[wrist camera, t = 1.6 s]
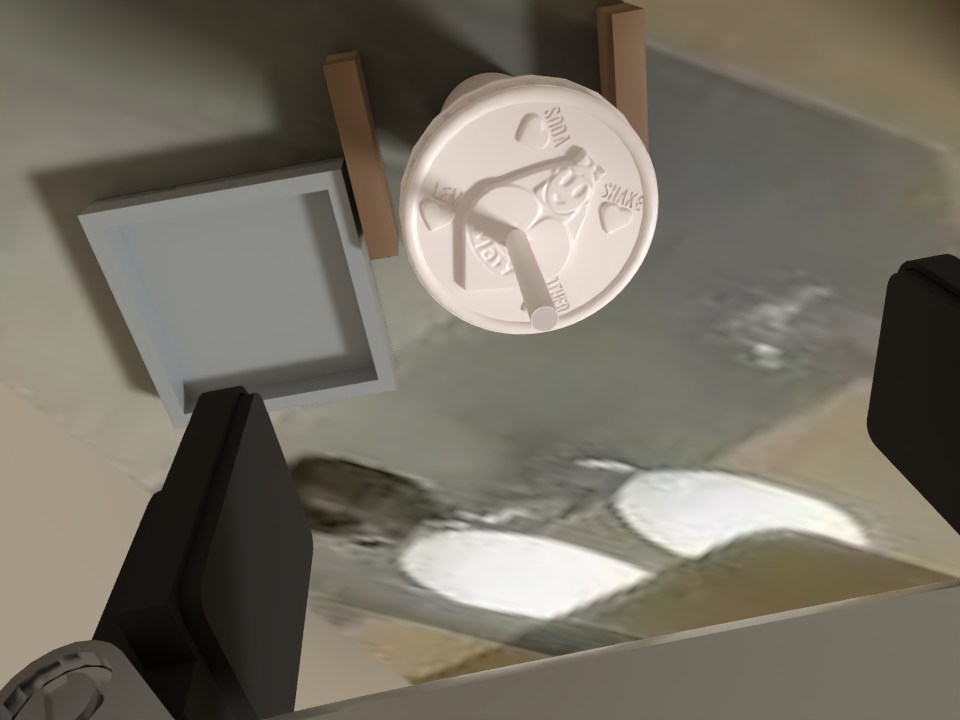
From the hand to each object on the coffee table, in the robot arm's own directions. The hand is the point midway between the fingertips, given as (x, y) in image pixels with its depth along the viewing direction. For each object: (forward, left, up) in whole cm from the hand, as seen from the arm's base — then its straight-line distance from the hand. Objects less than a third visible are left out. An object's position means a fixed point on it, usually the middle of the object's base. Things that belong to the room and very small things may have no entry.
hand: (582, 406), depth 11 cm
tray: (+9, +5, -18) cm, 20 cm away
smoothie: (0, 0, -18) cm, 18 cm away
